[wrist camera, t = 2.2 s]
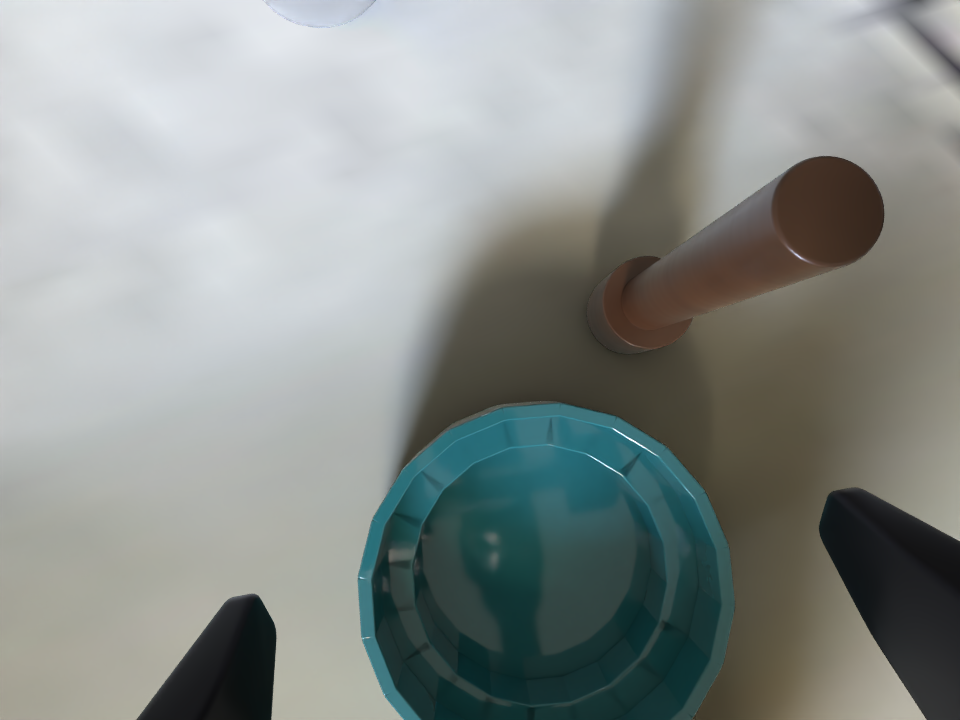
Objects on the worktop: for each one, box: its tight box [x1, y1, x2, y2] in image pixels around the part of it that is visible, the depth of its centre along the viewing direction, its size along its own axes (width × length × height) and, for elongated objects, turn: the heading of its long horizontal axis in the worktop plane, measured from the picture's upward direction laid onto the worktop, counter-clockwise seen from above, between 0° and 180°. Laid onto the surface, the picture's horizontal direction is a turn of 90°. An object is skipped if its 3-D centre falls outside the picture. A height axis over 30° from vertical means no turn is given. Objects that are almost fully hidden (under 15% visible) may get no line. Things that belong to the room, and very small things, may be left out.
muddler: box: [587, 156, 884, 354], centre depth 18 cm, size 4×4×14 cm
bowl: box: [358, 401, 735, 720], centre depth 22 cm, size 13×13×4 cm
